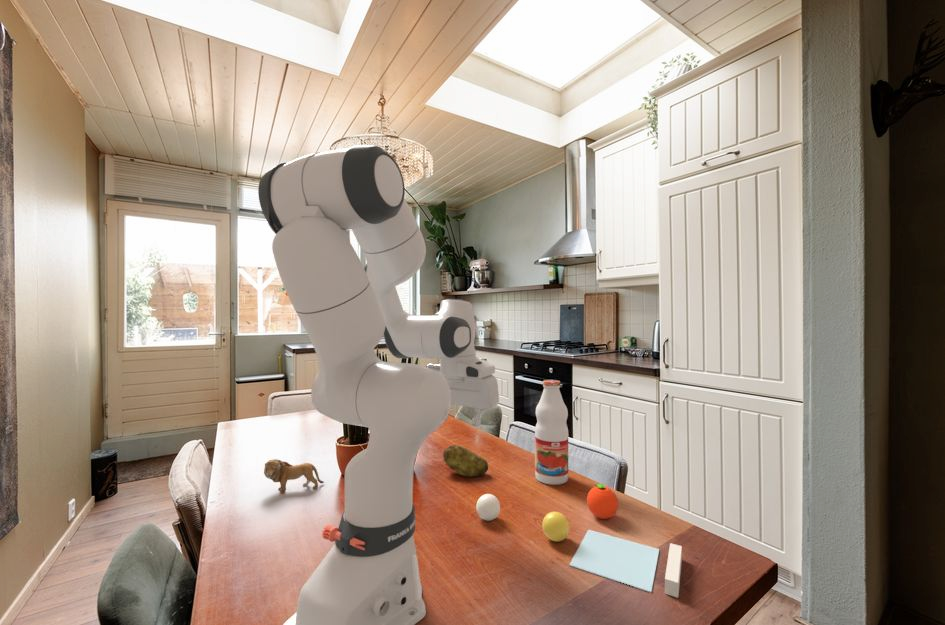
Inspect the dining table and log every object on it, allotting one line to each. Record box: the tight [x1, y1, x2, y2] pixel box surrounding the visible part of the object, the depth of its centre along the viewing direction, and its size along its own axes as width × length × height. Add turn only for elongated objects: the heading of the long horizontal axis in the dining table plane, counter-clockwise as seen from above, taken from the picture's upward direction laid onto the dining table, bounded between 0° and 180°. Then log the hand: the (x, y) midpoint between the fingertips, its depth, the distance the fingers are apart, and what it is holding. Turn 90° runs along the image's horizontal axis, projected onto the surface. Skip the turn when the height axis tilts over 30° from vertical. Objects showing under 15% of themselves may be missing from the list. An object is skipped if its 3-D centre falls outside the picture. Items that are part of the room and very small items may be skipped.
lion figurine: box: [263, 458, 325, 495], centre depth 105 cm, size 15×5×9 cm, turn 118°
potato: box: [442, 444, 489, 478], centre depth 115 cm, size 8×13×8 cm, turn 61°
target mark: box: [568, 529, 660, 593], centre depth 76 cm, size 14×14×1 cm
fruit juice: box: [534, 379, 569, 486], centre depth 112 cm, size 9×9×28 cm
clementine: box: [586, 483, 619, 520], centre depth 92 cm, size 8×7×7 cm
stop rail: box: [664, 542, 683, 599], centre depth 71 cm, size 12×2×2 cm, turn 149°
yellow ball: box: [541, 511, 570, 542], centre depth 82 cm, size 6×6×6 cm
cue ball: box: [475, 493, 501, 522], centre depth 90 cm, size 6×6×6 cm
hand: (459, 422), depth 95 cm, fingers open, 8 cm apart
